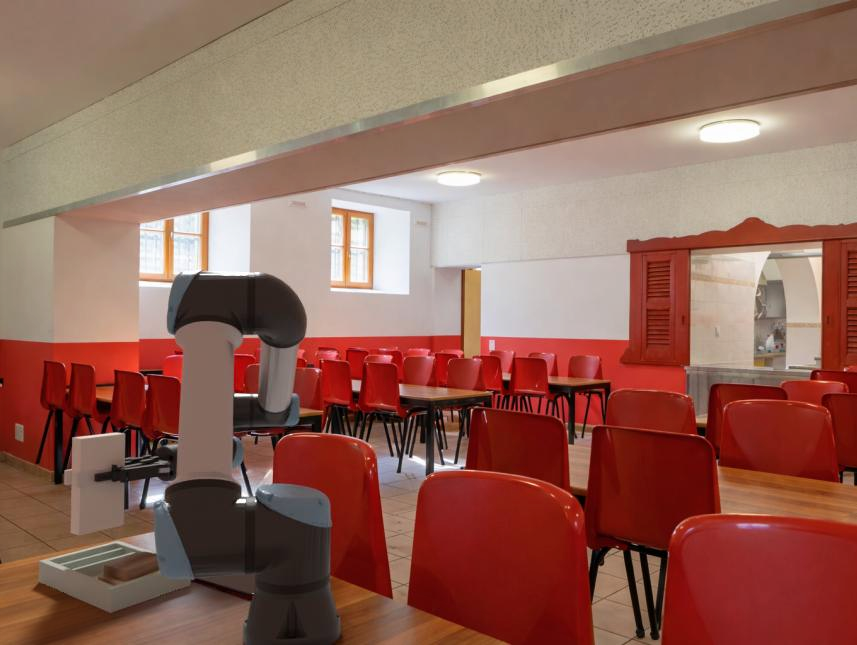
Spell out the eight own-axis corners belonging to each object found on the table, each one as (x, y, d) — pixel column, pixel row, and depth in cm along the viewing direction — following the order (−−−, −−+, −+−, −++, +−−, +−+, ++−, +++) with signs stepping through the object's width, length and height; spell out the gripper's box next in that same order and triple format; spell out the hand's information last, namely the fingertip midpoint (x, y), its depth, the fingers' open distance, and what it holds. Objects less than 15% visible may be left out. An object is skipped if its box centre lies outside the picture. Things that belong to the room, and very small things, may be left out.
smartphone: (214, 553, 151) (301, 575, 137) (214, 560, 151) (301, 583, 137) (164, 569, 141) (252, 595, 127) (164, 577, 141) (252, 604, 127)
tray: (190, 585, 134) (190, 564, 134) (110, 612, 121) (110, 589, 121) (117, 559, 148) (118, 540, 148) (38, 582, 135) (39, 560, 135)
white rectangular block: (123, 525, 141) (125, 433, 141) (79, 535, 133) (80, 438, 134) (115, 522, 143) (116, 432, 143) (70, 532, 135) (72, 437, 136)
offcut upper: (166, 566, 134) (167, 556, 134) (126, 582, 126) (127, 570, 126) (144, 561, 137) (144, 551, 137) (103, 576, 129) (103, 565, 129)
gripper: (202, 483, 148) (93, 505, 129) (155, 474, 157) (48, 493, 138) (202, 447, 148) (94, 463, 129) (156, 440, 158) (48, 454, 138)
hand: (70, 478), depth 134 cm, fingers closed on white rectangular block, 3 cm apart
